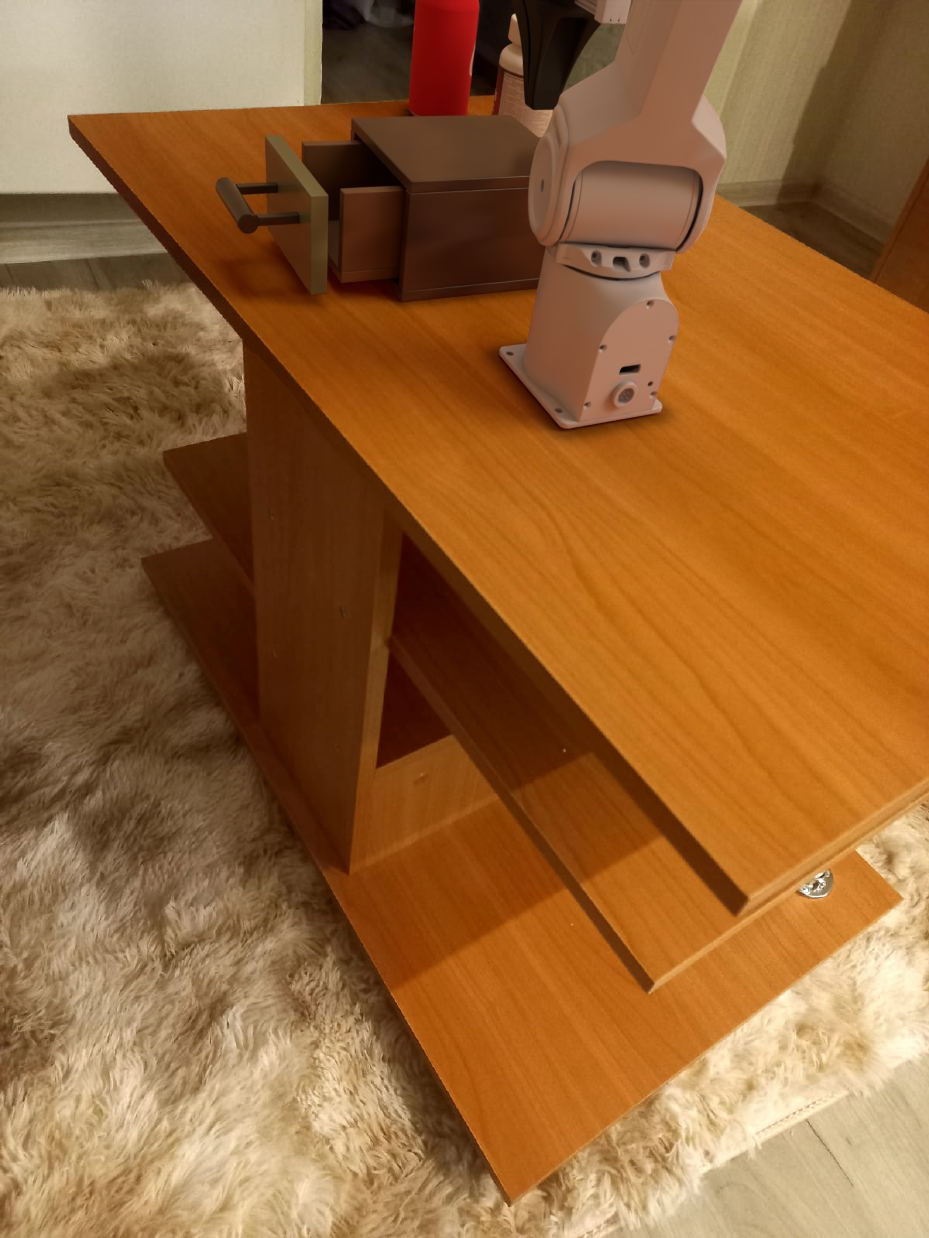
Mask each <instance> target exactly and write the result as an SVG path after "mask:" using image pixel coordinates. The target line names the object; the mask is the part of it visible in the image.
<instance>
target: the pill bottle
mask: <svg viewBox="0 0 929 1238" xmlns="http://www.w3.org/2000/svg"><path fill="white" fill-rule="evenodd" d="M509 23H510V24H509V29H508V35H507V37H508V40H509V41H510V42H512V43H510V44H508V45H506V46H505V47H504V48H503V49H502V50H501V53H500V55H499V59H498V61H499V62H498V65H497V66H498V67H497V75H496V83H495V90H494V96H493V104H492V110H491V115H512V116H513V117H514V118H515V119H516V120H518V121H519V122H520V123H521V124H523V125H524V126H525V127H526V128H528V129H529V130H530V131H531V132H532V133H534V134H535V135H536V136H537V137H539V138H540V139H541V138H542V136H543V135H544V134H545V132H546V130H547V127H548V125H549V122H550V120H551V117H552V114H553V111H554V110H532V109H531V108H529V107H528V106H527V105H526V104H525V100H524V83H523V60H522V48H521V40H520V33H519V28H518V23H517V19H516V15H515V13H513V14H512V15H511V18H510V22H509Z"/></svg>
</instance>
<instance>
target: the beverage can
mask: <svg viewBox="0 0 929 1238" xmlns="http://www.w3.org/2000/svg"><path fill="white" fill-rule="evenodd" d="M479 14H480V1H479V0H415V5H414V20H413V34H412V46H411V47H412V49H411V62H410V75H409V76H410V77H409V91H408V105H407V106H408V110H409V111H410V113H411V114H412V116H413V117H415V116H468V110H469V101H470V94H471V93H470V92H471V84H472V76H473V75H472V74H473V66H474V58H475V50H476V42H477V32H478V24H479Z"/></svg>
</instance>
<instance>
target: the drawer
mask: <svg viewBox="0 0 929 1238" xmlns="http://www.w3.org/2000/svg"><path fill="white" fill-rule="evenodd" d="M264 153H265V154H264V155H265V182H264V181H263V182H243V183H235V182H234V181H233V179H231V178H230V177H228V176H222V177H219V179H218V180H217V181H216V182H215V186H214V188H215V192H216V194H217V195H218V197H219V198H220V200H221V202H222V203H223V205H224V206H225V208H226V210H227V212H228V214H229V215H230V216H231V218H232V219H233V221H234V223H235V224H236V226H237V227H238V228H239V231H240V232H242V233H243V234H246V235H251V234H254V233H255V232H256V231H257V230H258V228H259V227H267V231H268V232H269V233H270V236H271V237H272V239H273V240H274V242H275V243H276V244H277V246H278V247H279V249H280V251H281V252H282V253H283V255H284V256H285V258H286V260H287V261H288V262H289V264H290V266H291V267H292V269H293V270H294V272H295V273H296V275H297V276H298V278H299V279H300V281H301V282H302V284H303V286H304V287H305V288H306V290H307V291H308V293H309V294H310V295H311V296H313V295H324V294H327V293H328V266H329V268H330V269H331V270H332V272H333V273H334V275H335V276H336V278H337V279H338V281H339V282H340V283H341V284H345V283H355V282H367V281H378V280H384V279H389V278H399V273H400V261H401V248H402V235H403V223H404V210H405V197H406V188H405V187H404V185H403V184H402V183H401V182H400V181H399V180H398V179H397V178H396V177H395V176H394V175H393V173H392V172H391V171H390V170H389V169H388V168H387V167H386V166H385V165H384V164H383V163H382V162H381V160H380V159H379V158H378V157H377V156H376V155H375V154H374V153H373V152H372V151H371V150H370V149H369V147H368V146H367V145H366V144H365V143H364V142H363V141H362V140H350V139H345V140H344V139H343V140H308V141H306V140H305V141H301V159H300V157H299V156H298V155H297V154H296V153H295V151H294V150H293V149H292V147H291V146H290V145H289V143H288V142H287V141H286V140H285V139H284V137H283V136H282V135H281V134H272V135H271V134H270V135H269V134H268V135H264ZM247 195H248V196H249V195H266V211H267V212H266V213H255V212H254V211H253V209H252V208H251V206H250V204H249V203H248V202H247V200H246V199H245V197H244V196H247Z"/></svg>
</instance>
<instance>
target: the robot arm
mask: <svg viewBox="0 0 929 1238" xmlns="http://www.w3.org/2000/svg"><path fill="white" fill-rule="evenodd" d="M510 1H511V4H512V5H511V6H512V8H513V11H514V14H515V15H516V19H517V23H518V28H519V33H520V40H521V48H522V60H523V83H524V100H525V104H526V105H527V106H528V107H529V108H531V109H532V110H554V111H553V114H552V117H551V120H550V122H549V125H548V127H547V130H546V132H545V134H544V135H543V136H542V138H541V139H540V141H539V143H538V145H537V147H536V150H535V154H534V157H533V162H532V166H531V172H530V180H529V190H528V214H529V222H530V227H531V229H532V232H533V233H534V234H535V236H536V238H537V240H538V241H539V243H540V244H542V245H544V246H546V248H545V253H544V258H543V263H542V268H541V273H540V278H539V283H538V288H536V294H535V298H534V303H533V309H532V313H531V319H530V323H529V328H528V333H527V338H526V343H519V344H511V345H510V344H509V345H504V346H501V347H500V348H499V350H498V355H499V356H500V358H501V359H502V360H503V361H504V362H505V363H506V365H507V366H508V367H509V368H510V370H511V371H512V372H513V373H514V374H515V375H516V377H517V378H518V379H519V380H520V381H521V383H522V384H523V385H524V386H525V387H526V389H528V391H529V392H530V393H531V394H532V396H533V397H534V398H535V399H536V400H537V402H539V404H540V405H541V407H543V409H544V410H545V411H546V412H547V413H548V414H549V416H550V417H551V419H553V420H554V422H555V423H556V424H557V425H558V426H559V428H562V429H574V428H580V427H585V426H590V425H596V424H602V423H607V422H613V421H619V420H625V419H630V418H631V419H632V418H637V417H642V416H648V415H653V414H659V413H661V412H662V410H663V404H662V402H661V401H660V400H659V399H658V398H657V396H658V393H659V390H660V388H661V385H662V382H663V378H664V376H665V373H666V370H667V367H668V364H669V361H670V358H671V355H672V352H673V349H674V346H675V343H676V341H677V337H678V333H679V328H680V327H679V326H680V319H679V315H678V310H677V308H676V307H675V305H674V303H673V302H672V301H671V299H670V298H669V296H668V294H667V292H666V291H665V288H664V283H663V281H662V271H667V272H669V271H671V269H672V267H673V264H674V260H675V256H676V255H682V254H685V253H686V252H688V251H689V250H691V248H692V247H693V246H694V245H695V244H696V242H697V241H698V240H699V239H700V237H701V236H702V234H703V233H704V231H705V229H706V227H707V225H708V222H709V219H710V216H711V214H712V211H713V207H714V201H715V195H716V190H717V187H718V184H719V180H720V178H721V175H722V172H723V170H724V167H725V165H726V163H727V161H728V153H727V143H726V142H727V140H726V134H725V130H724V126H723V123H722V121H721V118H720V116H719V115H718V113H717V111H716V110H715V108H714V107H713V105H712V103H710V101H709V100H708V99H707V97H706V96H705V95H704V94H705V91H706V89H707V87H708V84H709V82H710V80H711V77H712V74H713V72H714V70H715V67H716V65H717V63H718V61H719V58H720V56H721V53H722V51H723V49H724V46H725V44H726V43H727V40H728V37H729V35H730V33H731V31H732V29H733V26H734V23H735V21H736V19H737V17H738V14H739V11H740V9H741V7H742V4H743V2H744V0H510ZM631 3H632V4H631ZM601 25H624V29H623V31H622V34H621V37H620V42H619V44H618V48H617V51H616V54H615V57H614V59H613V61H611V63H609V64H608V65H606V66H605V67H603V68H602V69H600V70H598V71H596V72H595V73H593V74H591V75H589V76H587V77H586V78H584V79H582V80H580V81H578V82H577V83H575V84H574V85H572V86H570V87H569V88H567V89H565V88H566V85H567V82H568V80H569V78H570V75H571V73H572V71H573V69H574V67H575V65H576V63H577V61H578V59H579V57H580V56H581V54H582V52H583V50H584V48H585V47H586V46H587V44H588V42H589V40H590V39H591V38H592V36H593V35H594V34H595V33H596V31H597V30H598V29H599V28H600V26H601Z"/></svg>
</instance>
